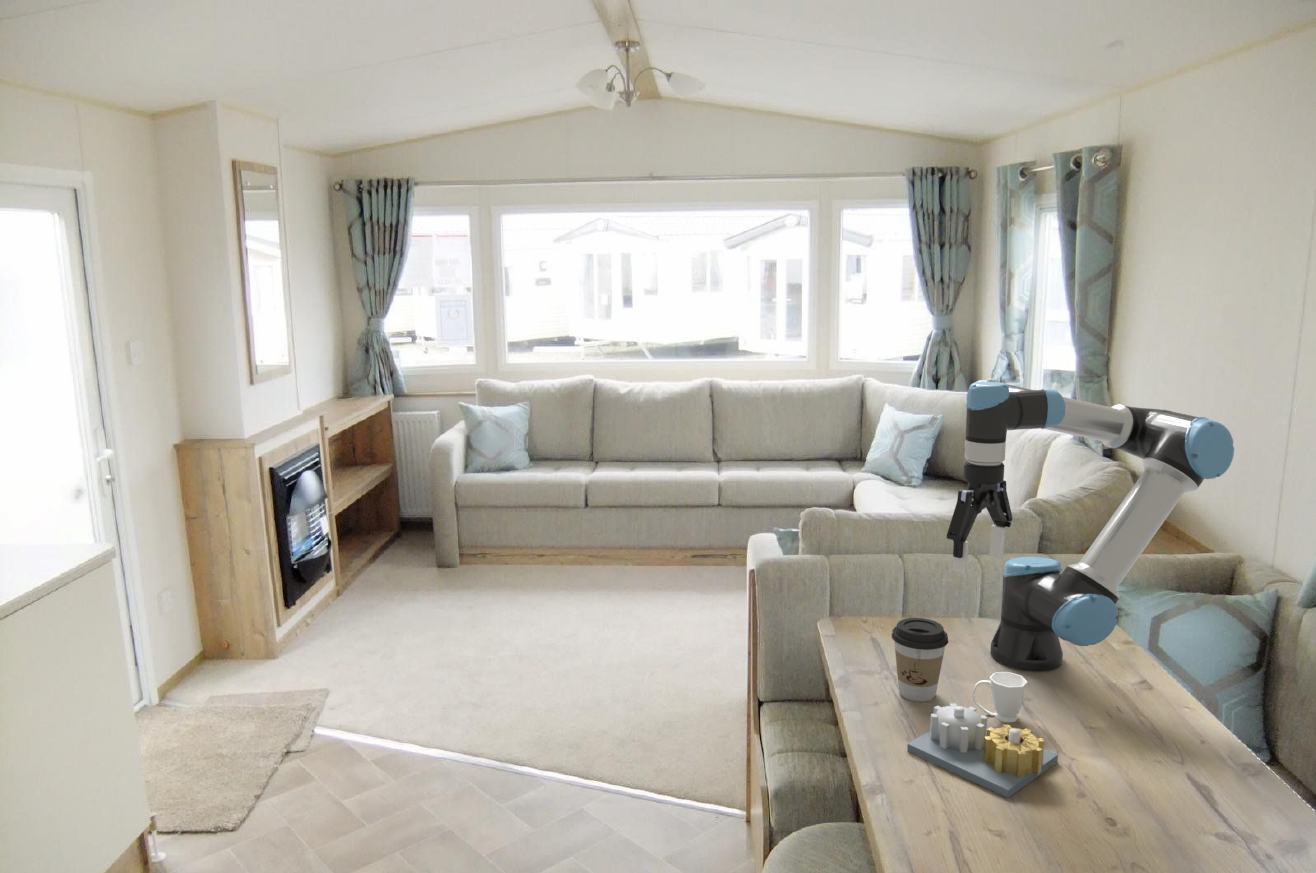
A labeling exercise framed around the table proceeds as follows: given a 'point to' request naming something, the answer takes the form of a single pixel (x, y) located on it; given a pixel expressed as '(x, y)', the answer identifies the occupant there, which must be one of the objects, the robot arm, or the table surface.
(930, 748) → the gear board
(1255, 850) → the table surface
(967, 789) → the table surface
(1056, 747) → the table surface
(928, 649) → the coffee cup
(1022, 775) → the brass gear
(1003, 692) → the cup
